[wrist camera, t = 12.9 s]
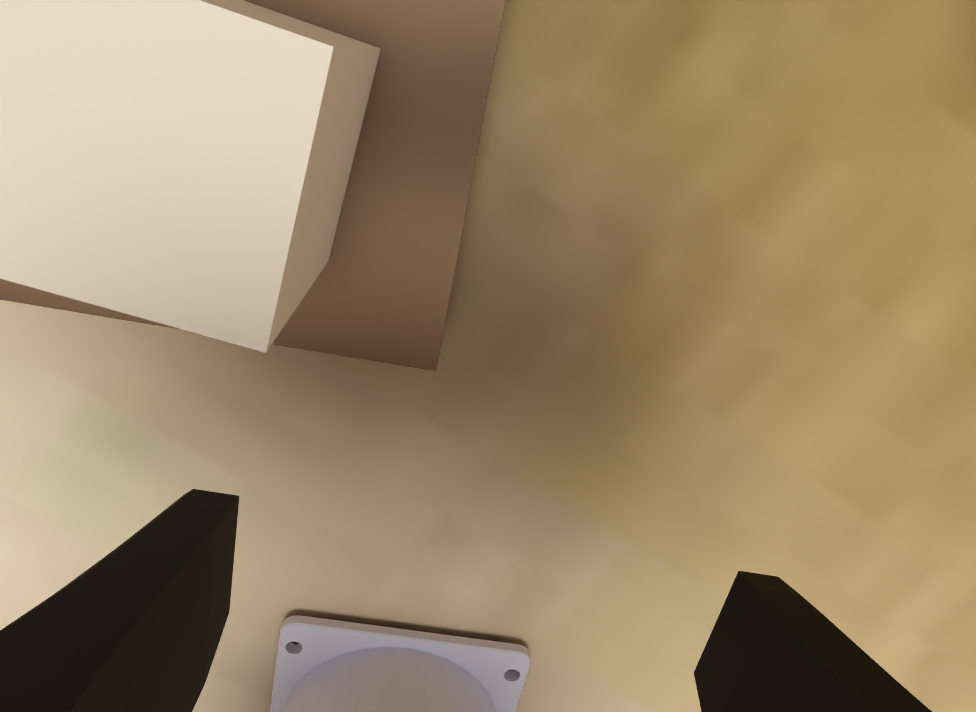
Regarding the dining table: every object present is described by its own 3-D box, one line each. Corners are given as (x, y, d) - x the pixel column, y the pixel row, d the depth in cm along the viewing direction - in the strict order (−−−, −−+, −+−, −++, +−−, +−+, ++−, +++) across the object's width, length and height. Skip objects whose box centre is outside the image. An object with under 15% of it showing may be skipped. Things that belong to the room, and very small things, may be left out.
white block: (328, 261, 15) (265, 352, 10) (118, 197, 14) (-47, 265, 10) (380, 48, 13) (333, 47, 9) (146, -34, 13) (-36, -83, 8)
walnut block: (439, 324, 19) (436, 371, 16) (52, 258, 18) (-22, 295, 15) (517, -100, 15) (530, -134, 12) (30, -219, 14) (-74, -285, 11)
